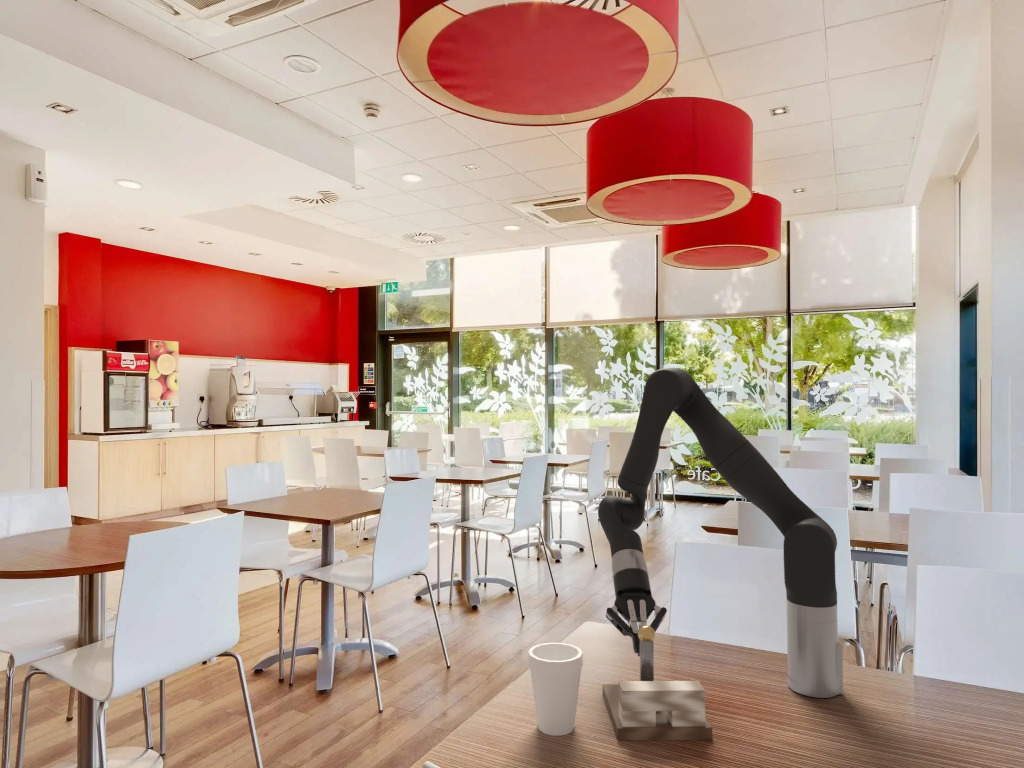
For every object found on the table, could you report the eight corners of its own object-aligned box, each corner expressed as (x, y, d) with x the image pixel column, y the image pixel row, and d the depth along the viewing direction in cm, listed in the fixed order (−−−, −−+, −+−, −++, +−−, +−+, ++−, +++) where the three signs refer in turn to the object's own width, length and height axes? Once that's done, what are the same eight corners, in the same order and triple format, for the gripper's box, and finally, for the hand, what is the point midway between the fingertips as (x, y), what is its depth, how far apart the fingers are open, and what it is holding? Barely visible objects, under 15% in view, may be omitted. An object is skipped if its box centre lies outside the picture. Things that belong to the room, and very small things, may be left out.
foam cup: (582, 716, 123) (582, 643, 124) (583, 741, 114) (582, 662, 114) (530, 713, 124) (530, 642, 125) (526, 738, 115) (526, 660, 115)
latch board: (684, 694, 132) (684, 652, 133) (712, 739, 114) (711, 691, 115) (602, 694, 132) (602, 653, 132) (617, 740, 114) (616, 692, 114)
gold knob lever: (653, 685, 131) (652, 622, 131) (664, 706, 122) (663, 638, 122) (636, 685, 131) (636, 622, 131) (646, 706, 122) (645, 638, 122)
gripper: (601, 566, 143) (610, 645, 131) (663, 566, 143) (679, 645, 131) (598, 585, 149) (606, 663, 136) (658, 584, 149) (672, 662, 136)
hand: (642, 654), depth 133 cm, fingers closed
